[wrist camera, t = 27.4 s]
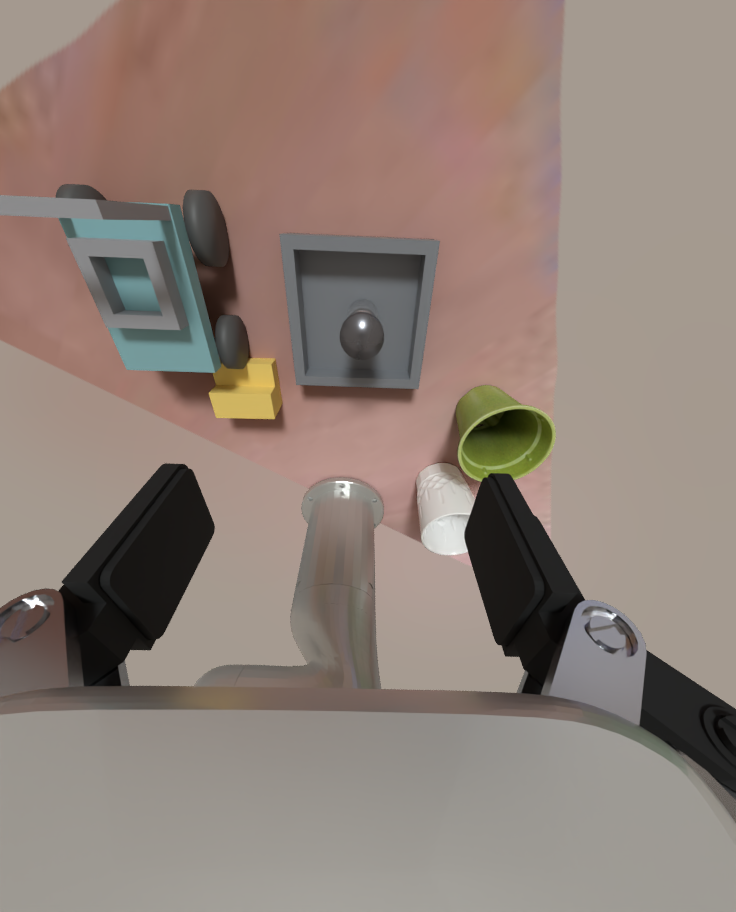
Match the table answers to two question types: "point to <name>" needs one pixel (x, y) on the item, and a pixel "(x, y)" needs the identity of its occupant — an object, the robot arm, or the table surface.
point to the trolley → (148, 274)
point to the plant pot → (501, 434)
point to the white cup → (443, 508)
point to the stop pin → (362, 331)
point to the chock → (247, 390)
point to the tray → (350, 279)
